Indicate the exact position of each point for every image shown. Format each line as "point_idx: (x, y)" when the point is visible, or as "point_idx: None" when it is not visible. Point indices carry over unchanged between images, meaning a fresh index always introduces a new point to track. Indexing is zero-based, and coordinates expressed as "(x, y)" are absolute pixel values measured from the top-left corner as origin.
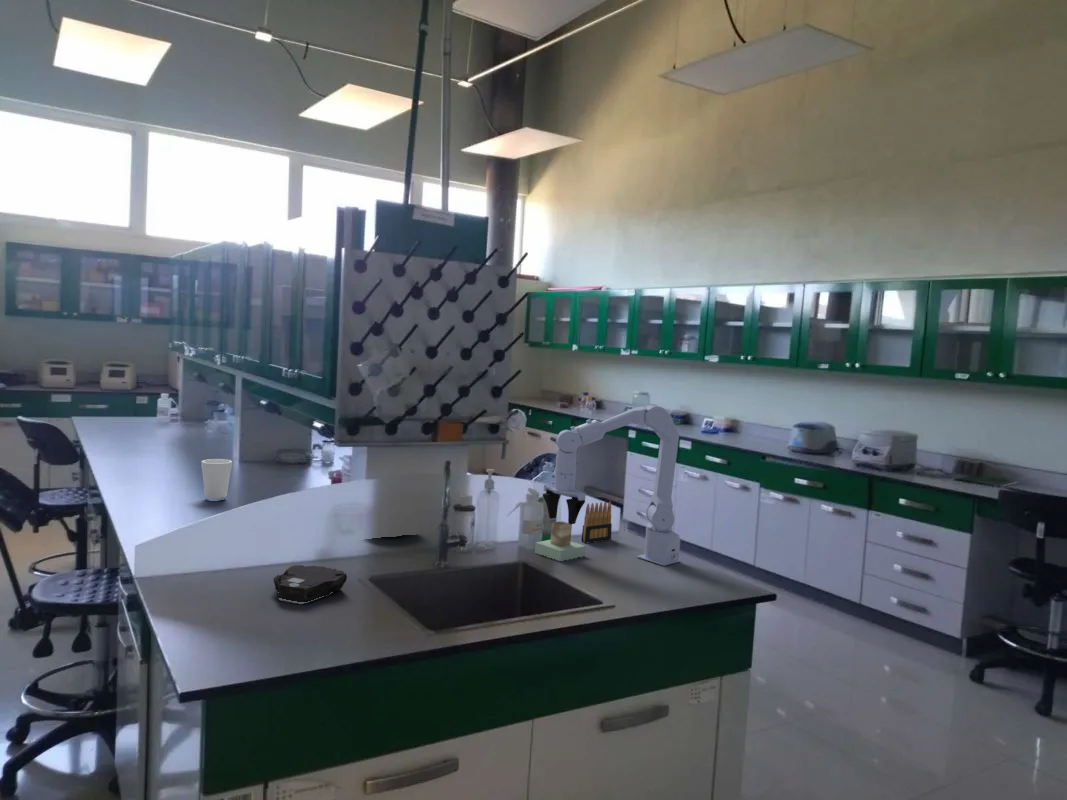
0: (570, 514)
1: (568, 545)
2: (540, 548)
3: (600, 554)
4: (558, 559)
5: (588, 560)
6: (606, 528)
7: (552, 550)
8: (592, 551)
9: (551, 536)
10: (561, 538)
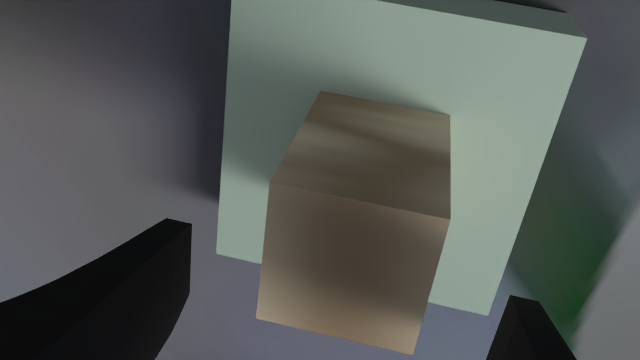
0: (77, 271)
1: None
2: (505, 14)
3: (212, 308)
4: None
5: (166, 152)
6: None
7: None
8: (283, 330)
9: (443, 143)
10: (303, 123)
